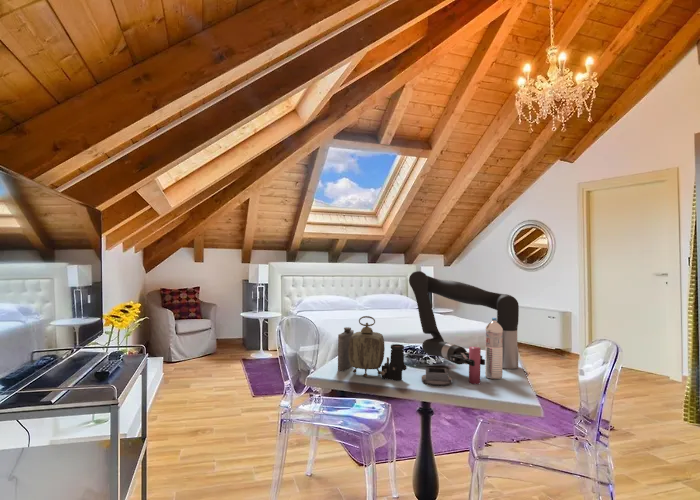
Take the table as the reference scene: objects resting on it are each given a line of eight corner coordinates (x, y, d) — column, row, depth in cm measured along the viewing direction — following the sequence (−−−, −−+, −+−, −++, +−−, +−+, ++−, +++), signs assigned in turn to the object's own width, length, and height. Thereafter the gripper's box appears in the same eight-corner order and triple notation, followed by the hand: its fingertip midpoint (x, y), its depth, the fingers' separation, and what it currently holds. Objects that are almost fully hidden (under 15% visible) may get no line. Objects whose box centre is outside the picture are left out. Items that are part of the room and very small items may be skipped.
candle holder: (450, 378, 174) (450, 367, 174) (453, 387, 162) (453, 375, 162) (421, 376, 176) (421, 365, 176) (421, 385, 164) (421, 373, 164)
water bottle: (500, 381, 171) (501, 319, 171) (483, 378, 174) (484, 318, 175) (503, 376, 177) (504, 317, 177) (487, 374, 180) (487, 316, 181)
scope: (386, 342, 178) (409, 344, 173) (386, 374, 177) (409, 378, 173) (380, 345, 170) (403, 348, 166) (379, 379, 170) (403, 383, 166)
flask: (355, 364, 194) (356, 325, 195) (344, 372, 181) (345, 330, 181) (348, 363, 196) (348, 324, 196) (336, 371, 182) (337, 329, 182)
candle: (479, 381, 170) (479, 346, 170) (480, 384, 166) (481, 349, 166) (468, 380, 171) (468, 346, 171) (469, 383, 166) (469, 348, 167)
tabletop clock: (384, 374, 179) (385, 315, 179) (382, 380, 170) (383, 318, 170) (351, 371, 181) (351, 314, 182) (347, 377, 172) (348, 317, 173)
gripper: (440, 345, 179) (464, 354, 163) (467, 343, 184) (493, 352, 168) (439, 363, 179) (464, 374, 163) (467, 360, 184) (493, 371, 168)
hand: (479, 363), depth 166 cm, fingers closed on candle, 4 cm apart
